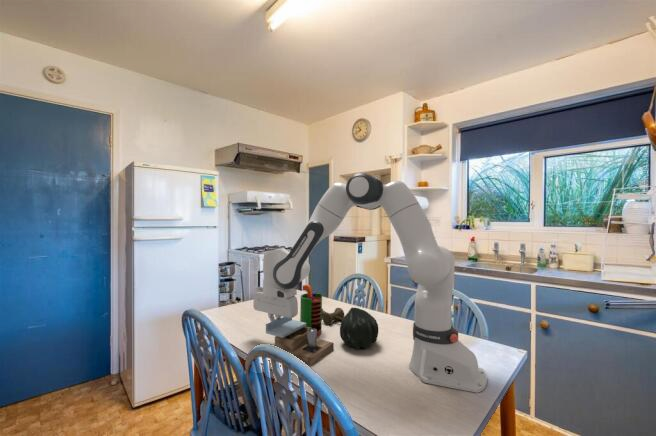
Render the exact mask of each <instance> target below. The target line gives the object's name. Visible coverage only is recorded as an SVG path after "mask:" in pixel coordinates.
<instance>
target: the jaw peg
mask: <svg viewBox="0 0 656 436" xmlns="http://www.w3.org/2000/svg"><path fill="white" fill-rule="evenodd" d="M317 339H318V336H317V329H315V328H309V329H307V351H309V352H312V353H315V352H316V351H317Z"/></svg>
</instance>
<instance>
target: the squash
mask: <svg viewBox="0 0 656 436" xmlns="http://www.w3.org/2000/svg"><path fill="white" fill-rule="evenodd" d="M379 330H380V329H379V324H378V322H377V320H376V318H374V316H372V315H371V314H370V313H369V312H367V311H366V310H364V309H360V308H359V307H351V308H350V309H349V310H348V312H347V313H346V314H344V318H343V320H342V321H341V322H340V326H339V337H340V339H341V340H342V341H343V342H344V343H345V345H346V346H347V347H351V348H352V347H354V348H355V349H356V350H359V349H361V348H362V349H364V350H365V349H369V347H370V346H371V345H374V344H375V343H377V340H378V337H379Z"/></svg>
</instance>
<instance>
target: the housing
mask: <svg viewBox="0 0 656 436" xmlns="http://www.w3.org/2000/svg"><path fill="white" fill-rule="evenodd" d="M309 328H310V327H306V326H305V327H303V328H301V329H299V330H297V331H295V332H293V333H291V334H289V335H287V336H285V337H283V338H281V337H277V336H274V347H275V346H277V347H279V348H281V349H283V350H285V351H287V352H289V353H291V354H293V355H294V356H296V357H297V358H299V359H300V360H302V361H303V362H305V363H306V364H305V365H307V366H309V367H310V366H313V365H314V364H316V363H317V362H318V361H320V360H321V359H322V358H324V357H326V356H327V355H328V354H330V353H331V352H332V351H334V347H335V346H334V342H332V341H328V340H324V339H321V338H317V351H316V352H315V353H312V352H309V351H307V329H309Z"/></svg>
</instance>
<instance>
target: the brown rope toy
mask: <svg viewBox="0 0 656 436" xmlns="http://www.w3.org/2000/svg"><path fill="white" fill-rule="evenodd" d="M344 317H345V312H344V309H342V308H341V307H336V308H335V310H334V311H333V312H331V313H330V312H327V311H325V310H324V309H323V308H322V322H323V323H324V324H325V325H326V326H330V325H332V323H333V322H334V321H335V320H338V321H341V322H342V320H343V318H344Z"/></svg>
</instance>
